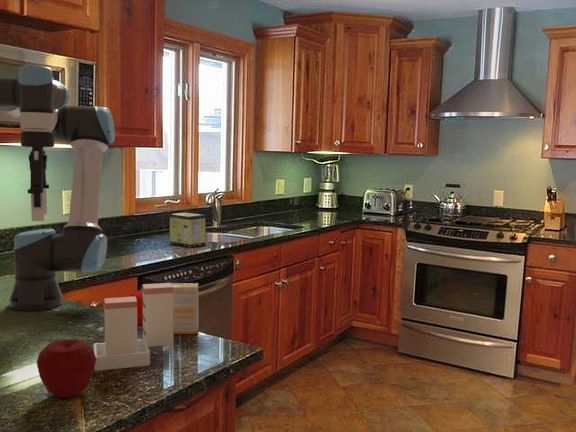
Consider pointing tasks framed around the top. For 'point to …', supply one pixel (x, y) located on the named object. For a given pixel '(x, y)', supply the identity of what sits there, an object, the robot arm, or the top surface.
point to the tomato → (138, 305)
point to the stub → (120, 325)
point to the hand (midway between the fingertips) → (39, 217)
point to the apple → (66, 367)
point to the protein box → (187, 229)
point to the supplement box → (185, 308)
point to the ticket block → (157, 314)
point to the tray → (122, 357)
